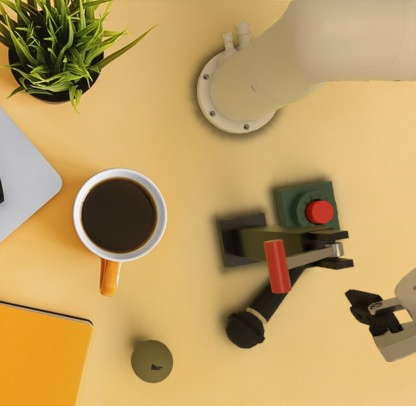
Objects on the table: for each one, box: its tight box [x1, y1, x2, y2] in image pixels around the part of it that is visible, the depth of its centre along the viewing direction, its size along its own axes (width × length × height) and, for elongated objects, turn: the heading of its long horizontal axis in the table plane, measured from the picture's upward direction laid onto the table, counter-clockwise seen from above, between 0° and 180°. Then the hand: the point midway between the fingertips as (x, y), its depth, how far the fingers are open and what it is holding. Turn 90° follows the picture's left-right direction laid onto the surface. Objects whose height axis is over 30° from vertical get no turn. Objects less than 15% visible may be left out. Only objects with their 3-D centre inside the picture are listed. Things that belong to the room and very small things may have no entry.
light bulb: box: [130, 339, 174, 384], centre depth 75 cm, size 6×6×10 cm
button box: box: [273, 180, 341, 230], centre depth 81 cm, size 8×8×4 cm
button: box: [306, 201, 334, 223], centre depth 78 cm, size 3×3×2 cm
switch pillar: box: [216, 212, 355, 271], centre depth 69 cm, size 7×7×26 cm
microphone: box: [225, 267, 306, 350], centre depth 80 cm, size 6×6×20 cm
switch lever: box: [264, 239, 345, 293], centre depth 56 cm, size 5×11×2 cm, turn 100°
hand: (400, 273), depth 47 cm, fingers open, 9 cm apart
